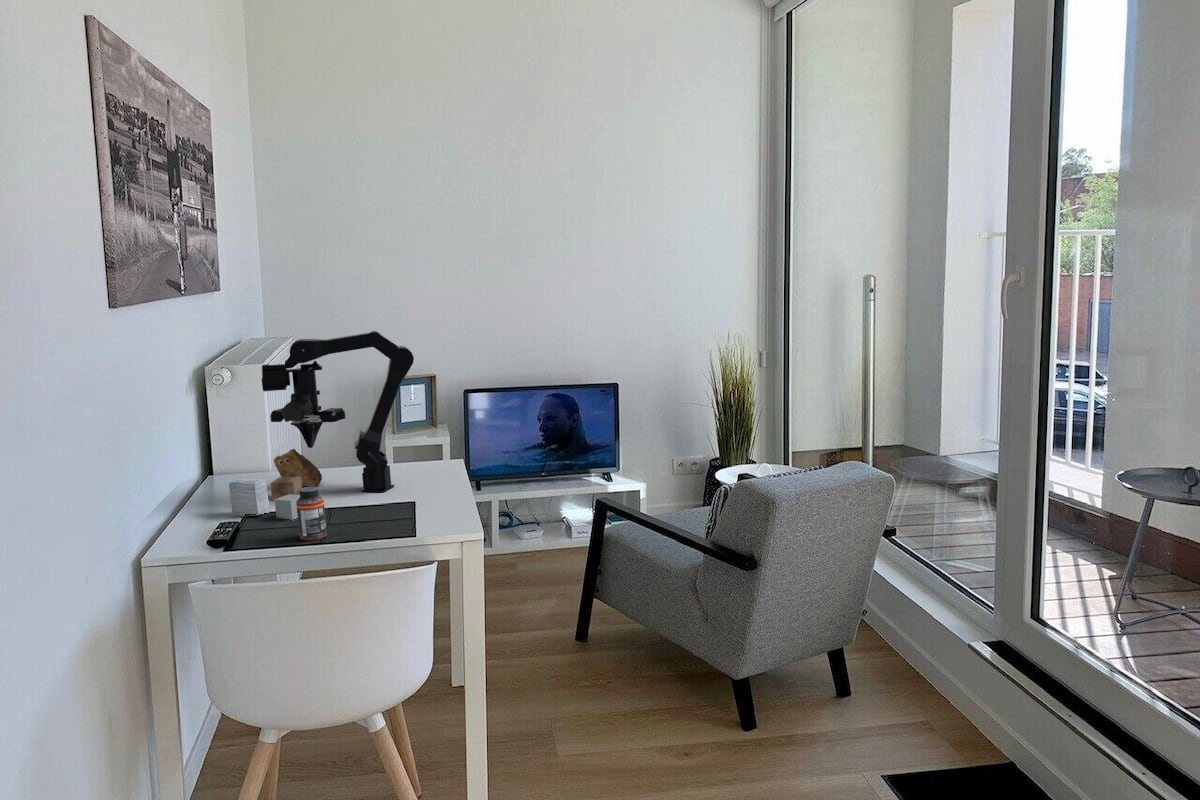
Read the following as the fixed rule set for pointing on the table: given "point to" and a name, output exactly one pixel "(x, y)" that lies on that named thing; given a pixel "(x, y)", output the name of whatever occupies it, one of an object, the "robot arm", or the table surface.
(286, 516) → the slate-grey block
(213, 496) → the table surface
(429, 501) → the table surface
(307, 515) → the supplement bottle
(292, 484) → the walnut block
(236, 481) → the medicine box
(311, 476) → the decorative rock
